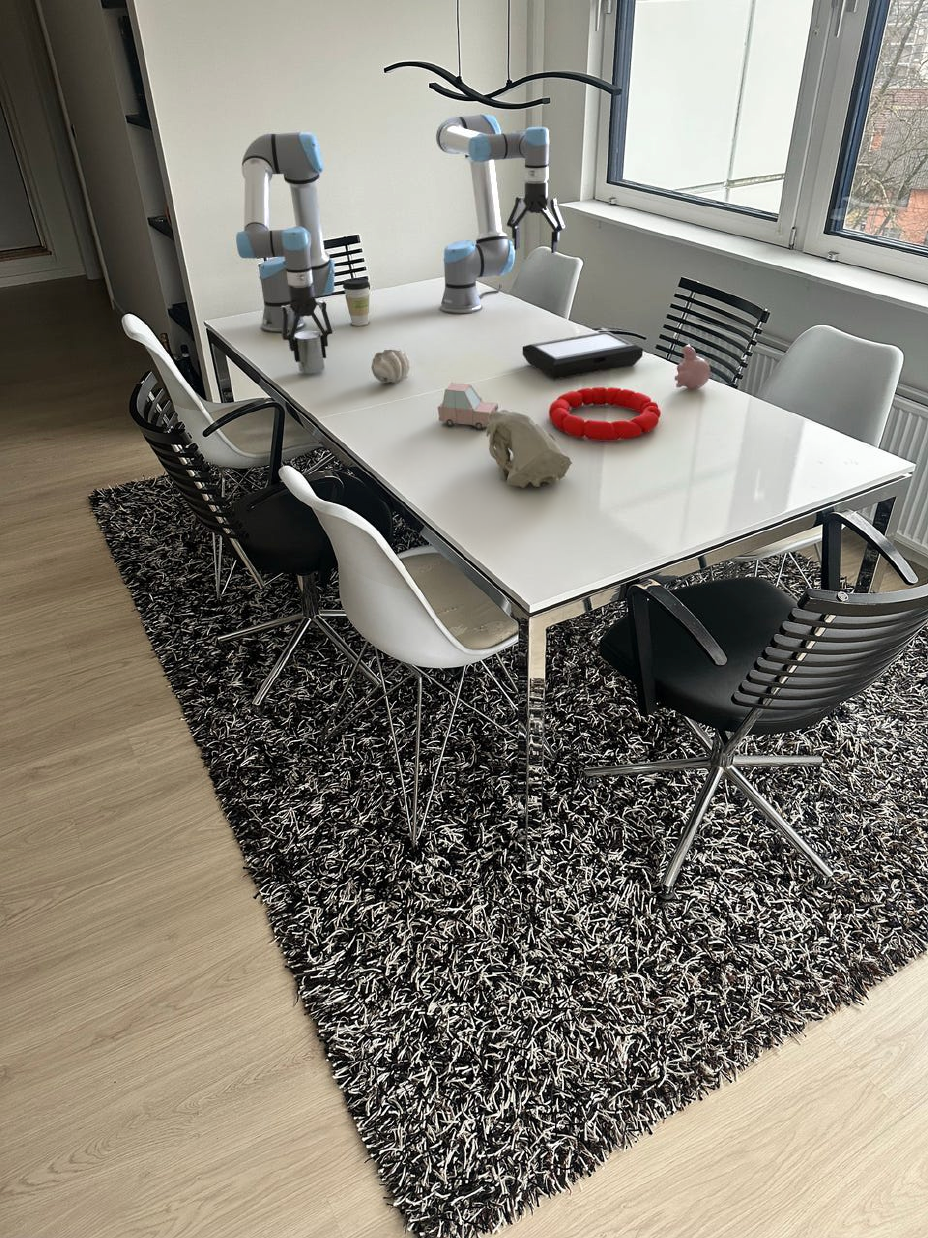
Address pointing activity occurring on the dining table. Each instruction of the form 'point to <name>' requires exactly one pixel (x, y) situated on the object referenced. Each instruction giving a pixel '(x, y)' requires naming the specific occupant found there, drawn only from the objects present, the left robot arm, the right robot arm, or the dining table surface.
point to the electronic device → (582, 354)
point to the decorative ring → (604, 428)
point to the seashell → (390, 366)
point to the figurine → (692, 370)
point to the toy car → (465, 406)
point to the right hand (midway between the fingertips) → (535, 250)
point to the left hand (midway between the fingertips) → (310, 358)
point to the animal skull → (525, 450)
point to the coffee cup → (357, 300)
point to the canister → (309, 351)
